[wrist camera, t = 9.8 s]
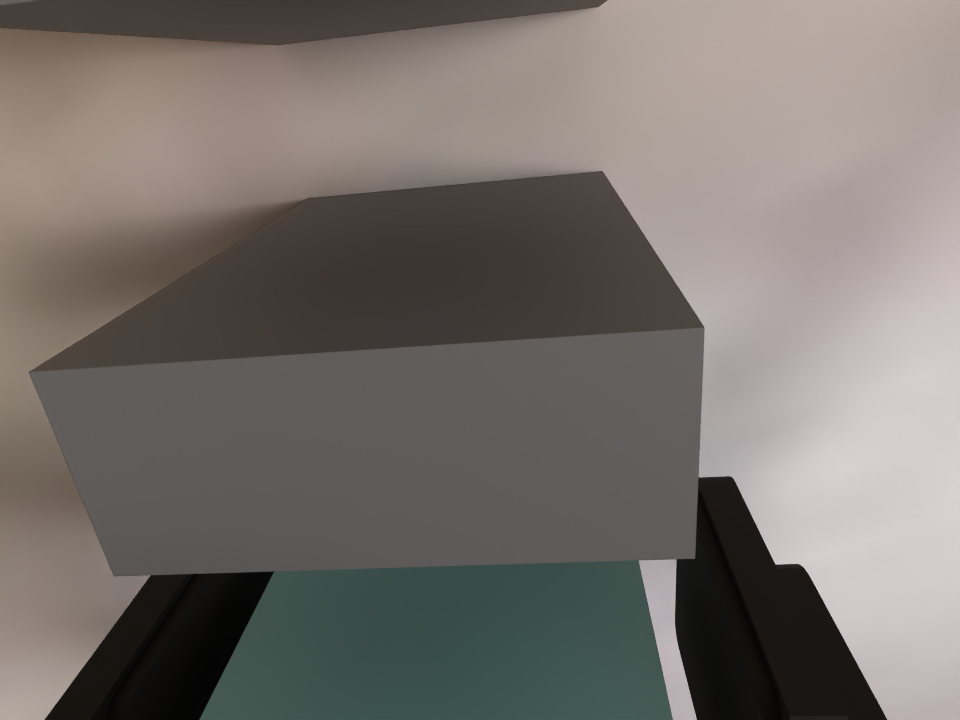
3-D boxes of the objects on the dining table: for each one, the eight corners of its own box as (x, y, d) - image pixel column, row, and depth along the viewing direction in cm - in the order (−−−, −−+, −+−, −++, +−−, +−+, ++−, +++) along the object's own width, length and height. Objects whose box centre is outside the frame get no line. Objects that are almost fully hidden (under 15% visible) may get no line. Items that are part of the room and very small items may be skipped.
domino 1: (605, 286, 12) (695, 558, 5) (331, 307, 12) (114, 575, 6) (602, 171, 11) (704, 326, 4) (308, 197, 11) (28, 371, 5)
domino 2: (351, 418, 13) (181, 752, 7) (605, 408, 13) (681, 758, 6) (366, 501, 14) (228, 869, 8) (606, 494, 13) (674, 883, 7)
